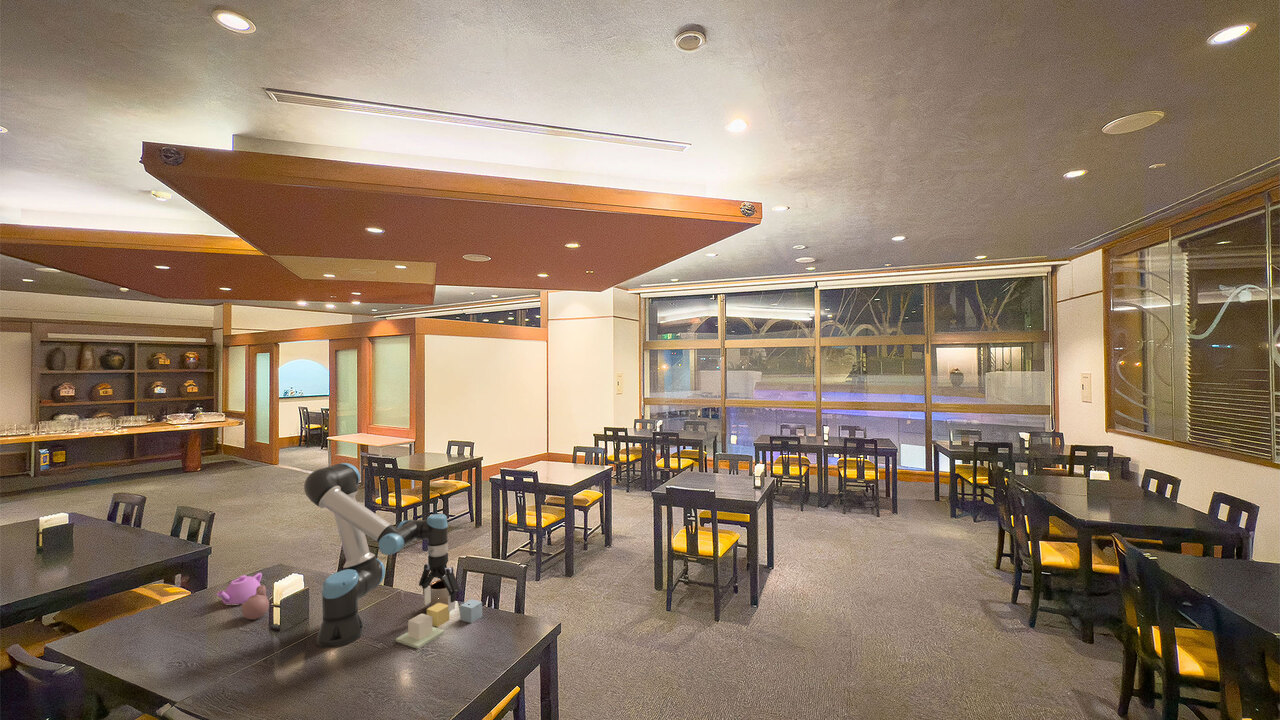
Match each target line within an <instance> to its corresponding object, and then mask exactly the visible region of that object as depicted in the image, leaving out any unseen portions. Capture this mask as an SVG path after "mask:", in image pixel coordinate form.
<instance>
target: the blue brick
mask: <svg viewBox="0 0 1280 720" xmlns="http://www.w3.org/2000/svg"><path fill="white" fill-rule="evenodd" d="M468 604H470V605H468ZM477 606H478V607H477ZM459 610H460V612H459V613H460V616H459V617H460V618H459V619H460V621H462V620H463V622H465V623H469V624H473V623H474V622H475V621H478V619H480V618H482V617H483V601H480V600H477V599H473V598H471V599H469V600H467V601H466V602H464V603H462V604H460V609H459Z"/></svg>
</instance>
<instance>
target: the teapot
mask: <svg viewBox="0 0 1280 720" xmlns="http://www.w3.org/2000/svg"><path fill="white" fill-rule="evenodd" d="M262 577H263V573H262V572H257V573H256V574H254V575H253V576H250V575H249V576H247V575H246V574H244V575H240V576H239V577H237V578H235V579H233V580H232V581H231V582H230V583H229V584H228V585H227V587H226V589H225V590H220V591H218V592H217V593H216V596H217V597H219V598H220V599H221V600H222V601H221V602H222V603H223V604H224V605H226V604H243V603H245V602H246V601H247V600H248V598H249V597H251V596H255V594H256V589H257V587H258V586H262V585H261V583H260V582H261V580H262Z"/></svg>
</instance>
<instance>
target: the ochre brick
mask: <svg viewBox="0 0 1280 720" xmlns="http://www.w3.org/2000/svg"><path fill="white" fill-rule="evenodd" d="M426 615H429V616H432V627H435V626H436V627H435V628H438V627H440V626H443V625H444V624H446V623H447V622H449V621H450V611H448V605H446V604H442V603H437V604H435V605H433V606H432V607H430V608H426Z"/></svg>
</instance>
